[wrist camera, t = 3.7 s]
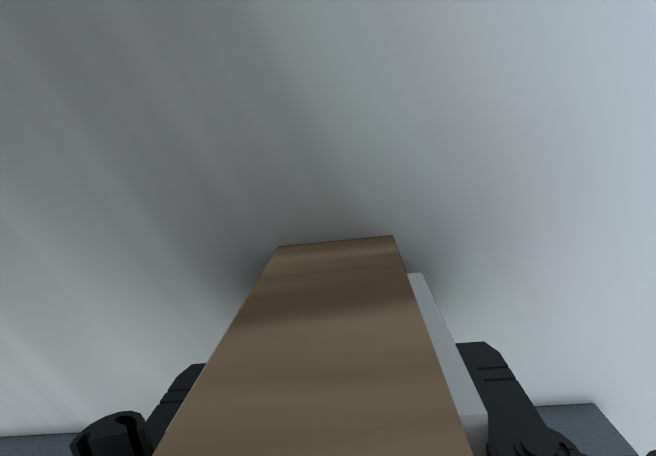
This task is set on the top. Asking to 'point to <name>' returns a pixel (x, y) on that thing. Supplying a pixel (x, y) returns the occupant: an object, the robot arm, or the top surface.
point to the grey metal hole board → (570, 420)
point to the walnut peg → (323, 365)
